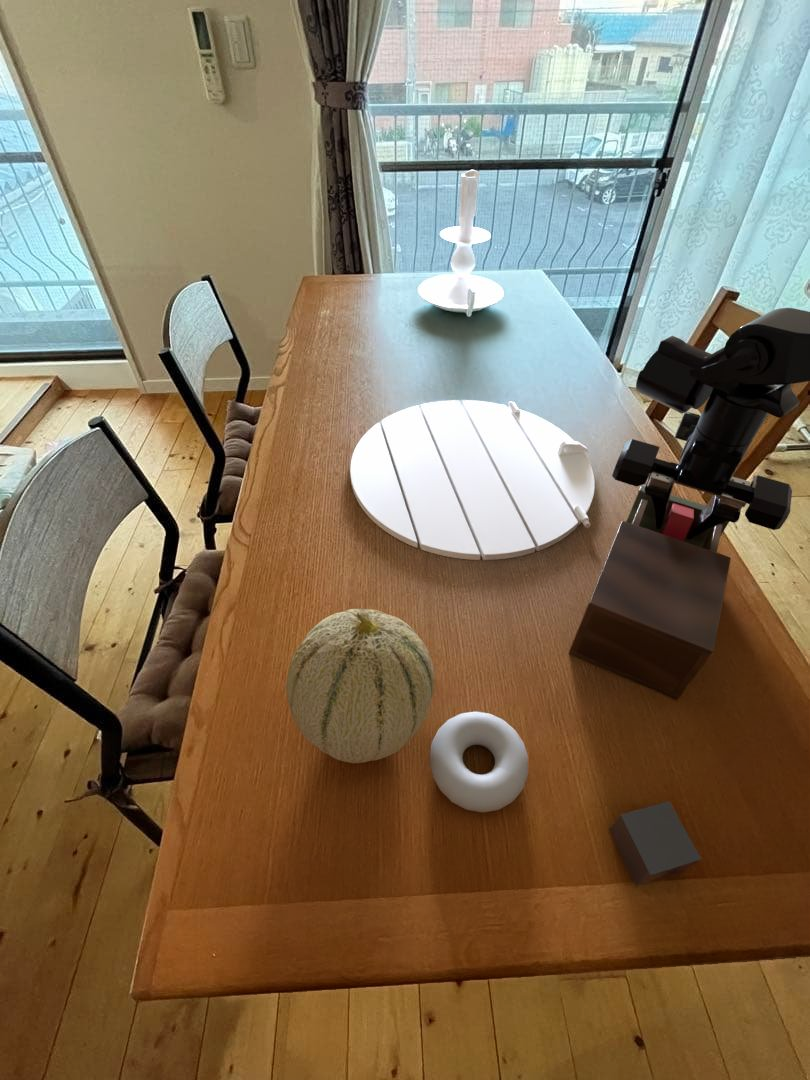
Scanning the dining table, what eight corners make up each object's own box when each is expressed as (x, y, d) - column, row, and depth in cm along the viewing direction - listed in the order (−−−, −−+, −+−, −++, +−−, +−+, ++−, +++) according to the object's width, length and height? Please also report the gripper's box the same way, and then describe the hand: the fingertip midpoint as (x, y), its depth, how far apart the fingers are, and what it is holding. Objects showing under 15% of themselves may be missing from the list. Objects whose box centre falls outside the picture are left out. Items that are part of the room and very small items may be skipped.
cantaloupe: (304, 800, 55) (281, 733, 44) (290, 672, 65) (269, 591, 54) (448, 765, 57) (460, 694, 46) (413, 647, 67) (416, 565, 56)
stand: (654, 815, 54) (669, 800, 51) (684, 871, 51) (702, 859, 48) (608, 828, 53) (620, 814, 50) (635, 886, 50) (650, 875, 47)
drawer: (629, 511, 83) (647, 467, 77) (710, 538, 79) (735, 494, 73) (598, 592, 72) (616, 549, 66) (689, 628, 68) (717, 585, 62)
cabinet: (600, 573, 76) (622, 520, 68) (697, 609, 71) (731, 557, 64) (568, 653, 67) (589, 602, 59) (676, 700, 62) (713, 651, 55)
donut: (443, 709, 62) (416, 797, 55) (445, 693, 59) (417, 783, 52) (532, 737, 60) (516, 832, 53) (538, 722, 57) (522, 819, 50)
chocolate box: (671, 568, 70) (694, 518, 67) (650, 561, 71) (671, 511, 68) (672, 557, 74) (694, 509, 71) (652, 550, 75) (673, 502, 72)
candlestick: (425, 332, 125) (430, 190, 105) (413, 288, 142) (415, 158, 122) (515, 329, 126) (537, 188, 106) (492, 285, 143) (507, 157, 123)
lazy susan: (542, 395, 107) (545, 378, 104) (644, 537, 80) (652, 520, 78) (336, 417, 101) (334, 401, 98) (373, 579, 74) (372, 562, 72)
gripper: (822, 418, 62) (757, 518, 73) (652, 375, 68) (616, 474, 79) (820, 473, 55) (749, 575, 66) (631, 420, 61) (595, 521, 72)
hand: (673, 532), depth 71 cm, fingers open, 3 cm apart
